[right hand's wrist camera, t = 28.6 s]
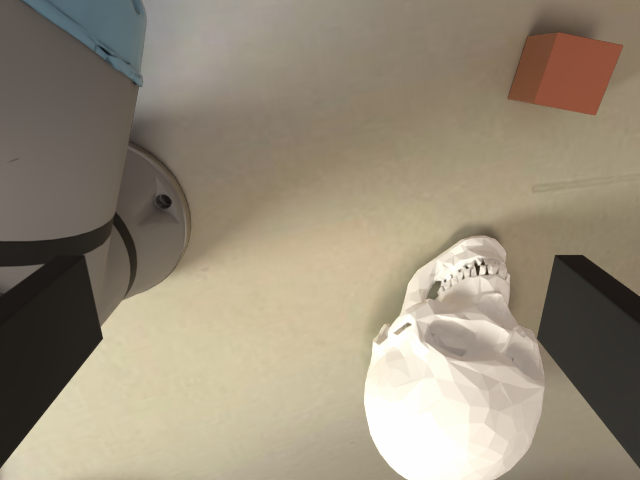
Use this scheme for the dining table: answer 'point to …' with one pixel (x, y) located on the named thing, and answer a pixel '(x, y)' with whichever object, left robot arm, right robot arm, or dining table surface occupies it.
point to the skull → (455, 372)
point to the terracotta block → (564, 72)
